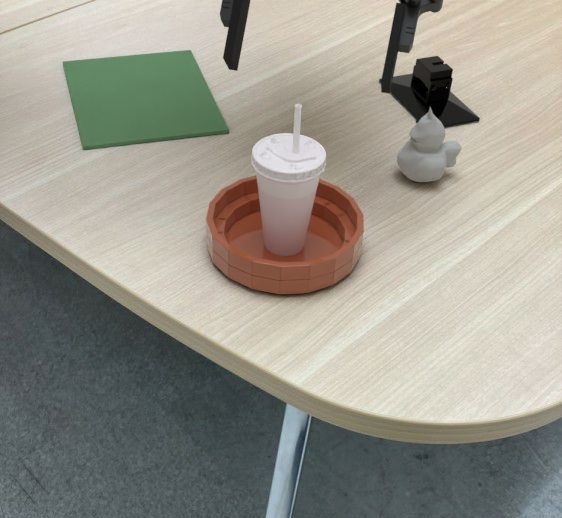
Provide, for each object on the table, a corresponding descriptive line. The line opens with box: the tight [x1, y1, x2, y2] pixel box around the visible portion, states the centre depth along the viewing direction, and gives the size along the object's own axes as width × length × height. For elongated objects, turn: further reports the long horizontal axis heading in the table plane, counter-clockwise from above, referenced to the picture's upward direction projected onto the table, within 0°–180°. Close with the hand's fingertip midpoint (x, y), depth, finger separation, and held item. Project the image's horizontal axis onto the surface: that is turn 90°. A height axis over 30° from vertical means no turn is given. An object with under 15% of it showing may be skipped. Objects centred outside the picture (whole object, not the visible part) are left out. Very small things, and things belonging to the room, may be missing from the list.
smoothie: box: [250, 103, 327, 256], centre depth 68 cm, size 6×6×14 cm
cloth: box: [62, 49, 230, 150], centre depth 92 cm, size 16×20×1 cm
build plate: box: [378, 55, 481, 129], centre depth 93 cm, size 12×7×5 cm, turn 22°
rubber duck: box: [396, 107, 462, 183], centre depth 80 cm, size 5×7×8 cm
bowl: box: [205, 175, 365, 295], centre depth 73 cm, size 14×14×4 cm
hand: (306, 76), depth 67 cm, fingers open, 13 cm apart
